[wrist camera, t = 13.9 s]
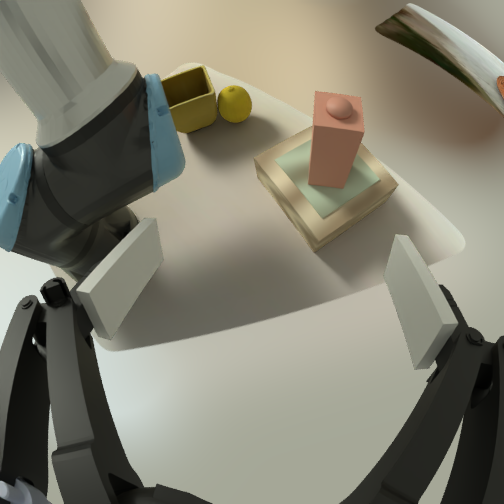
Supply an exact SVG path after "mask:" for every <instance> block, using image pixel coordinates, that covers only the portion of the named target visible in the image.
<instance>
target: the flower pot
mask: <svg viewBox="0 0 504 504" xmlns="http://www.w3.org/2000/svg"><path fill="white" fill-rule="evenodd" d="M161 83H162V86H163V89H164V93H165V96H166V99H167V102H168V106H169V109H170V112H171V116H172V119H173V122H174V125H175V128H176V131H178V132H181V133H190V132H192V131H195V130H198V129H200V128H203V127H206V126H209V125H211V124H213V122H214V121H215V119H216V117H217V102H216V95H215V90H214V87H213V85H212V83H211V80H210V78H209V76H208V73H207V71H206V68H205V66H204V65H203V66H199V67H195V68H192V69H189V70H187V71H184V72H181V73H178V74H176V75H173V76H171V77H168V78H166V79H163V80H161Z"/></svg>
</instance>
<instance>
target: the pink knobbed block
mask: <svg viewBox="0 0 504 504" xmlns="http://www.w3.org/2000/svg"><path fill="white" fill-rule="evenodd" d="M363 122H364V121H363V112H362V103H361V97H355V96H349V95H342V94H335V93H327V92H317V91H315V100H314V114H313V127H312V138H311V150H310V163H309V177H308V185H317V186H325V187H333V188H341V189H343V188H344V186H345V183H346V181H347V178H348V175H349V173H350V170H351V168H352V165H353V162H354V160H355V157H356V154H357V152H358V149H359V146H360V143H361V140H362V137H363V135H364V123H363Z"/></svg>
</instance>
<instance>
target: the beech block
mask: <svg viewBox="0 0 504 504" xmlns="http://www.w3.org/2000/svg"><path fill="white" fill-rule="evenodd" d="M312 127H313V126H311V127H309V128H307V129H305V130H303V131H301V132H299V133H297V134H296V135H294V136H292V137H290V138H288V139H286V140H284V141H283V142H281V143H279V144H277V145H275V146H274V147H272V148H270V149H268V150H267V151H265V152H263V153H261V154H260V155H258V156H256V157H254V162H255V167H256V172H257V177H258V179H259V180H260V181H261V183H262V184H263V185H264V187H265V188H266V189H267V190H268V192H269V193H270V194H271V196H272V197H273V198H274V200H275V201H276V202H277V203H278V205H279V206H280V207H281V209H282V210H283V211H284V213H285V214H286V215H287V217H288V218H289V219H290V221H291V222H292V223H293V225H294V226H295V227H296V229H297V230H298V231H299V233H300V234H301V236H302V237H303V238H304V240H305V241H306V242H307V244H308V245H309V246H310V248H311V249H312V251H313V252H316V251H317V250H319V249H320V248H322V247H323V246H325V245H326V244H327V243H329V242H330V241H332V240H333V239H335V238H336V237H337V236H339V235H340V234H342V233H343V232H344V231H346V230H347V229H349V228H350V227H352V226H353V225H354V224H356V223H357V222H359V221H360V220H361V219H363V218H364V217H365V216H367V215H368V214H370V213H371V212H372V211H374V210H375V209H376V208H378V207H379V206H381V205H382V204H383V203H385V202H386V201H387V199H388V198H389V197H390V196H391V194H392V193H393V192H394V190H395V189H396V188H397V186H398V183H397V182H396V181H395V180H394V179H393V177H392V176H391V175H390V174H389V173H388V172H387V170H386V169H385V168H384V167H383V166H382V165H381V164H380V163H379V161H378V160H377V159H376V158H375V157H374V156H373V155H372V154H371V153H370V152H369V151H368V149H367V148H366V147H365V146H364V145H363V144H362V143H360V146H359V149H358V152H357V154H356V157H355V160H354V162H353V165H352V168H351V170H350V173H349V175H348V178H347V181H346V183H345V186H344V188H343V189H341V188H333V187H325V186H317V185H308V177H309V163H310V150H311V138H312Z"/></svg>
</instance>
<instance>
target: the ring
mask: <svg viewBox="0 0 504 504" xmlns="http://www.w3.org/2000/svg"><path fill="white" fill-rule="evenodd" d="M497 86H498V88H499V91H500V93H501V95H502V96H503V98H504V76H499V77H498V78H497Z"/></svg>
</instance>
